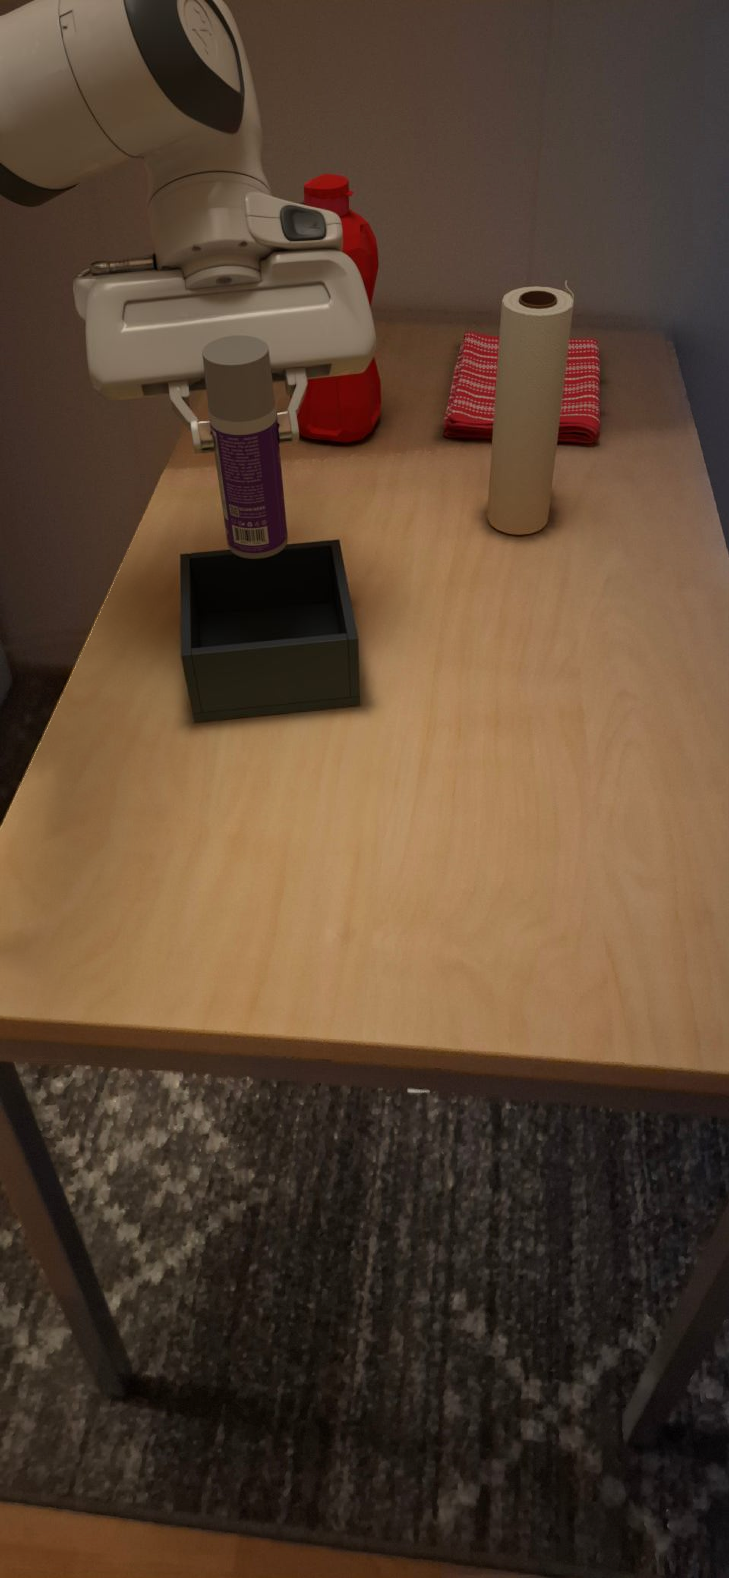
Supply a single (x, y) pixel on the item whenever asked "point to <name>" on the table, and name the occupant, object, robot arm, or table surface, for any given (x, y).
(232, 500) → the container
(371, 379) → the water bottle
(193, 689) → the tub
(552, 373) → the paper towel roll
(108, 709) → the table surface
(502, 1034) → the table surface
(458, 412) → the dish towel
